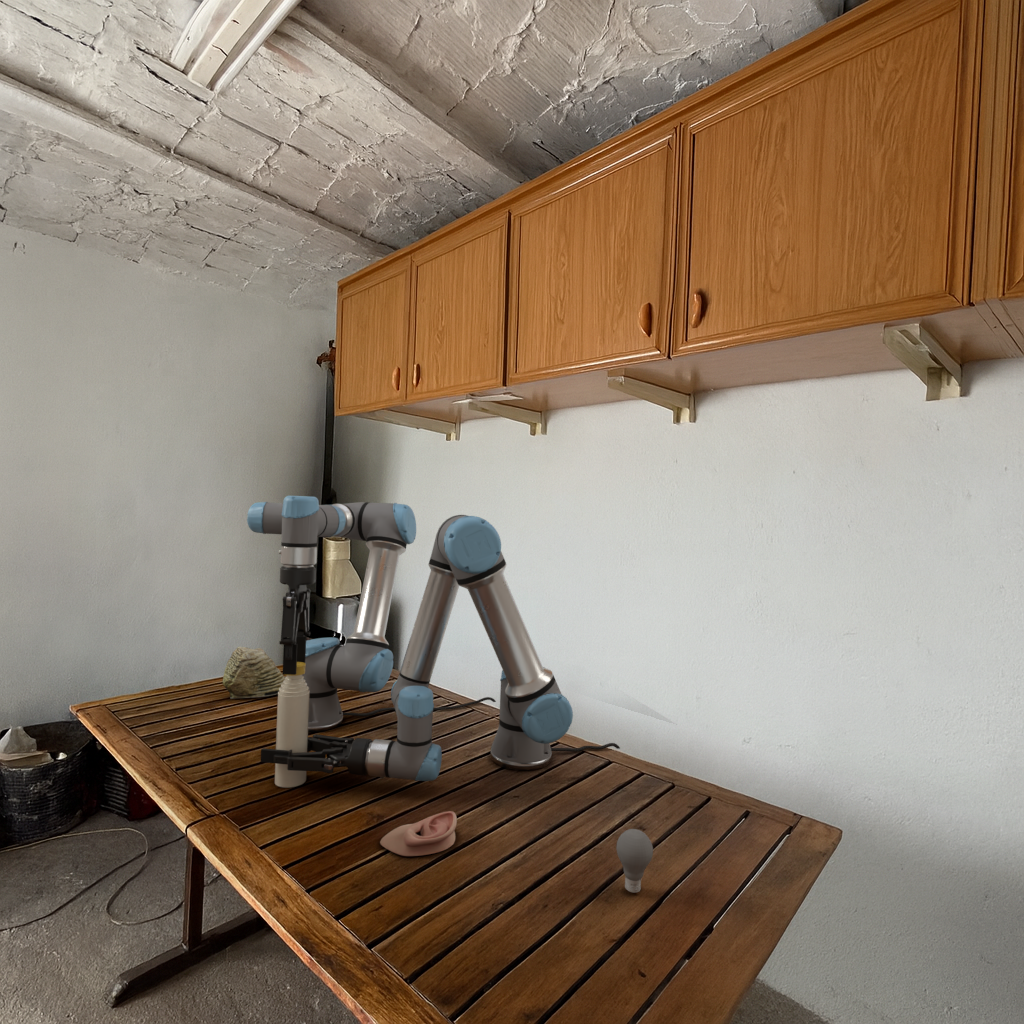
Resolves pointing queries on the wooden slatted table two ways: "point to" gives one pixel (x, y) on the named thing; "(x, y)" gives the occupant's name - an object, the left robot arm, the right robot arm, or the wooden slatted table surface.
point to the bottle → (292, 727)
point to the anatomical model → (422, 836)
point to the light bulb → (634, 857)
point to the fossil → (251, 674)
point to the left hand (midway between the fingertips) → (294, 669)
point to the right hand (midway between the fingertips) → (270, 748)
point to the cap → (300, 669)
